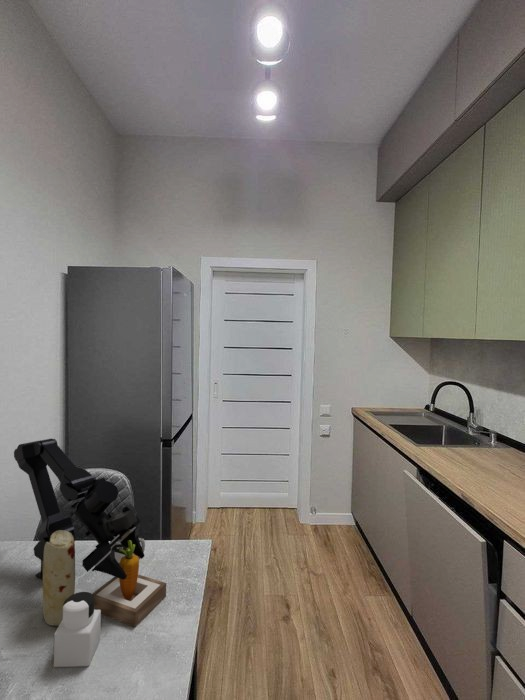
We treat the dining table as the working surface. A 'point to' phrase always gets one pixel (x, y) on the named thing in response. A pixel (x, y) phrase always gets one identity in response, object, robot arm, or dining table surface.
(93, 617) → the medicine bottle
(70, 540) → the food model
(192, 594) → the dining table surface
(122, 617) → the walnut box
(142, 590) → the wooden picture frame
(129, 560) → the carrot
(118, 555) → the mug
